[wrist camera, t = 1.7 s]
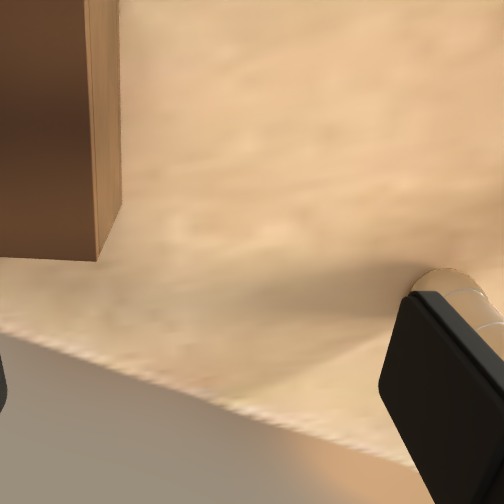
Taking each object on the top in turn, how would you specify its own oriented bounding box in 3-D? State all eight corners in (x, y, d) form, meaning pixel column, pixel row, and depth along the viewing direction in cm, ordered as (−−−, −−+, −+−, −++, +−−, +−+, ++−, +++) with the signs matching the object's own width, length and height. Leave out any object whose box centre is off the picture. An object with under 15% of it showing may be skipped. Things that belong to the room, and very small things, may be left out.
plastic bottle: (392, 317, 43) (529, 517, 25) (411, 257, 40) (582, 436, 22) (451, 319, 44) (623, 514, 26) (474, 261, 41) (685, 435, 23)
